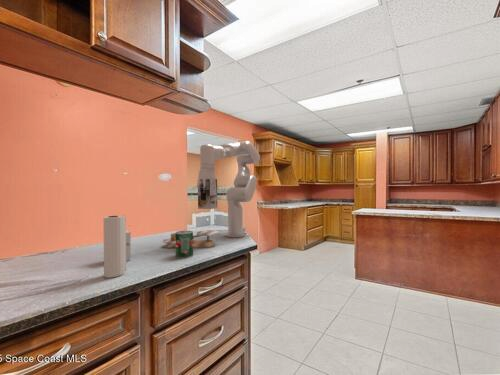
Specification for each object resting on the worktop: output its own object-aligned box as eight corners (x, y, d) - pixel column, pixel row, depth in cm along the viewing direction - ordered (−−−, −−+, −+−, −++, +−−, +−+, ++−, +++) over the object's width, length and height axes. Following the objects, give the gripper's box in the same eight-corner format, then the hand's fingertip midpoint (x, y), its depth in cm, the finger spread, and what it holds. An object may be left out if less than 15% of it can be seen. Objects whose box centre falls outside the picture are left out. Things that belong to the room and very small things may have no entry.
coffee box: (217, 208, 135) (217, 179, 135) (210, 209, 129) (209, 178, 130) (205, 207, 140) (205, 179, 140) (197, 208, 134) (197, 179, 134)
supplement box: (112, 264, 101) (112, 234, 101) (106, 261, 106) (106, 232, 106) (131, 260, 107) (130, 231, 107) (124, 257, 112) (124, 229, 112)
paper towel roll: (103, 279, 84) (103, 217, 85) (104, 274, 90) (103, 216, 90) (126, 275, 88) (126, 216, 88) (126, 270, 93) (125, 214, 93)
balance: (160, 248, 127) (160, 235, 127) (166, 243, 139) (166, 231, 139) (218, 247, 129) (218, 234, 129) (219, 242, 141) (219, 230, 141)
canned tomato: (196, 255, 114) (196, 231, 114) (182, 259, 108) (182, 234, 108) (186, 252, 119) (186, 230, 119) (172, 256, 113) (171, 232, 113)
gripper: (212, 168, 144) (212, 199, 144) (191, 166, 129) (191, 200, 129) (222, 168, 140) (222, 199, 140) (201, 165, 125) (202, 200, 125)
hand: (207, 199), depth 135 cm, fingers closed on coffee box, 6 cm apart
